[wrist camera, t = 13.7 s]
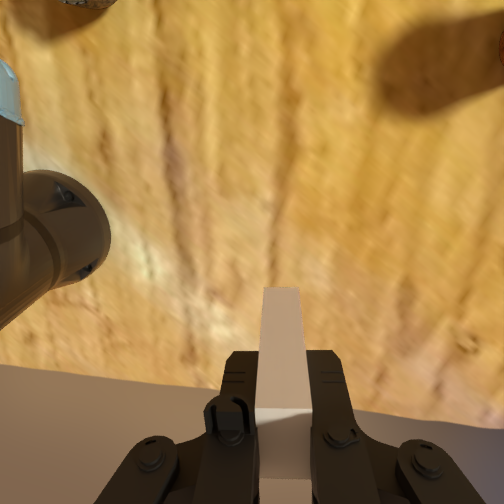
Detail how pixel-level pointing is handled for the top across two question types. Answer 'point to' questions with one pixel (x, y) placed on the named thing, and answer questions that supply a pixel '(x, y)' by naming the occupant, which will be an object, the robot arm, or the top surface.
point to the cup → (90, 3)
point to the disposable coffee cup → (502, 48)
